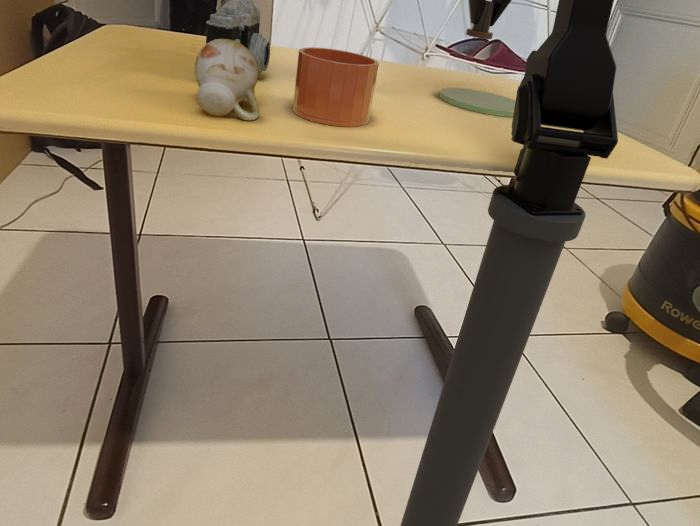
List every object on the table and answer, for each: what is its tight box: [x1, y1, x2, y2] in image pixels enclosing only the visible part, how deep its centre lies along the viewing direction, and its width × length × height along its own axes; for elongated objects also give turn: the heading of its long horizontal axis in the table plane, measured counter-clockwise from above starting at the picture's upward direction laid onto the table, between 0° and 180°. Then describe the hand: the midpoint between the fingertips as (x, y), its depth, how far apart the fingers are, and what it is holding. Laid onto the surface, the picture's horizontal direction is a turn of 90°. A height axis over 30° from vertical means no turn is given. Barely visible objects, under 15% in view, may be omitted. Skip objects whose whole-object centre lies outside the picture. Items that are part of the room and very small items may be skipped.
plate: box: [439, 87, 516, 118], centre depth 90 cm, size 14×14×1 cm
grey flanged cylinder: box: [465, 0, 496, 40], centre depth 80 cm, size 4×4×5 cm
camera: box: [205, 0, 271, 74], centre depth 77 cm, size 15×7×10 cm, turn 175°
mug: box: [194, 39, 260, 121], centre depth 63 cm, size 8×10×10 cm
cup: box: [292, 46, 380, 128], centre depth 67 cm, size 9×9×7 cm
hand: (481, 24), depth 80 cm, fingers closed on grey flanged cylinder, 2 cm apart
